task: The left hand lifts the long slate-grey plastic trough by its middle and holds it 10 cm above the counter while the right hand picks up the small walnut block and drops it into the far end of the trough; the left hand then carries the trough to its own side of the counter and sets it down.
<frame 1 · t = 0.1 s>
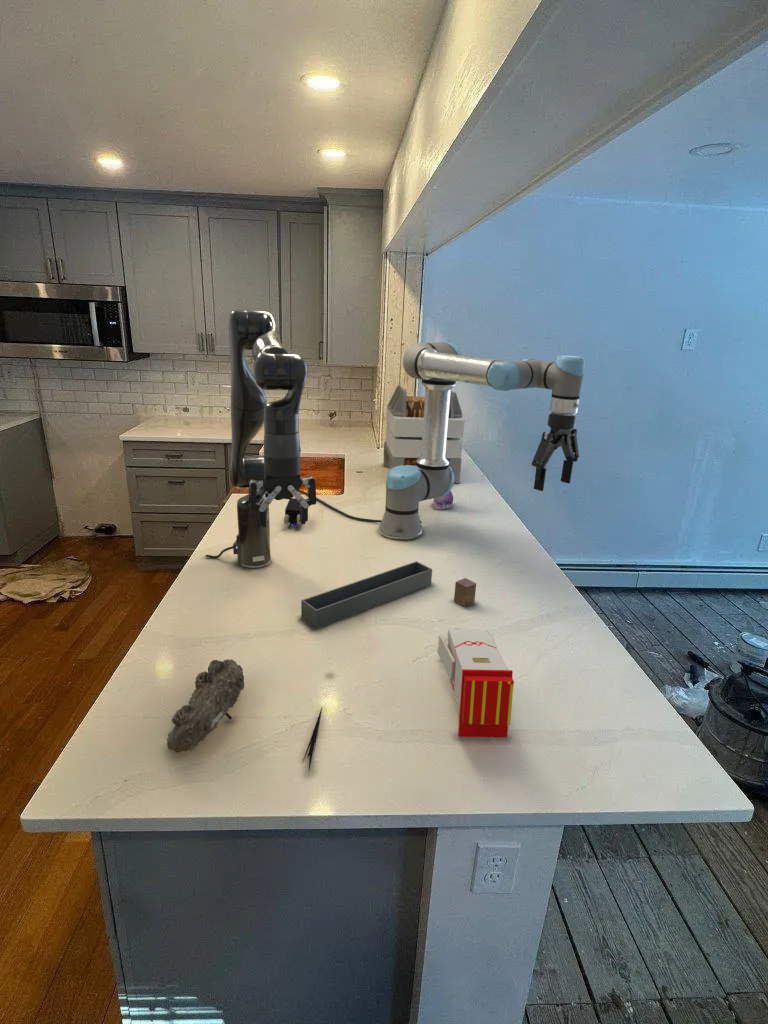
left hand: (283, 524, 124), 29 cm above the counter, fingers open, 8 cm apart
right hand: (552, 486, 165), 28 cm above the counter, fingers open, 13 cm apart
figurine: (442, 506, 230), on the counter
toy: (469, 691, 119), on the counter
figurine character: (295, 523, 205), on the counter
trough: (370, 600, 154), on the counter
walnut block: (464, 602, 155), on the counter
white crate: (419, 473, 275), on the counter
fossil: (212, 717, 108), on the counter
feather: (319, 719, 109), on the counter
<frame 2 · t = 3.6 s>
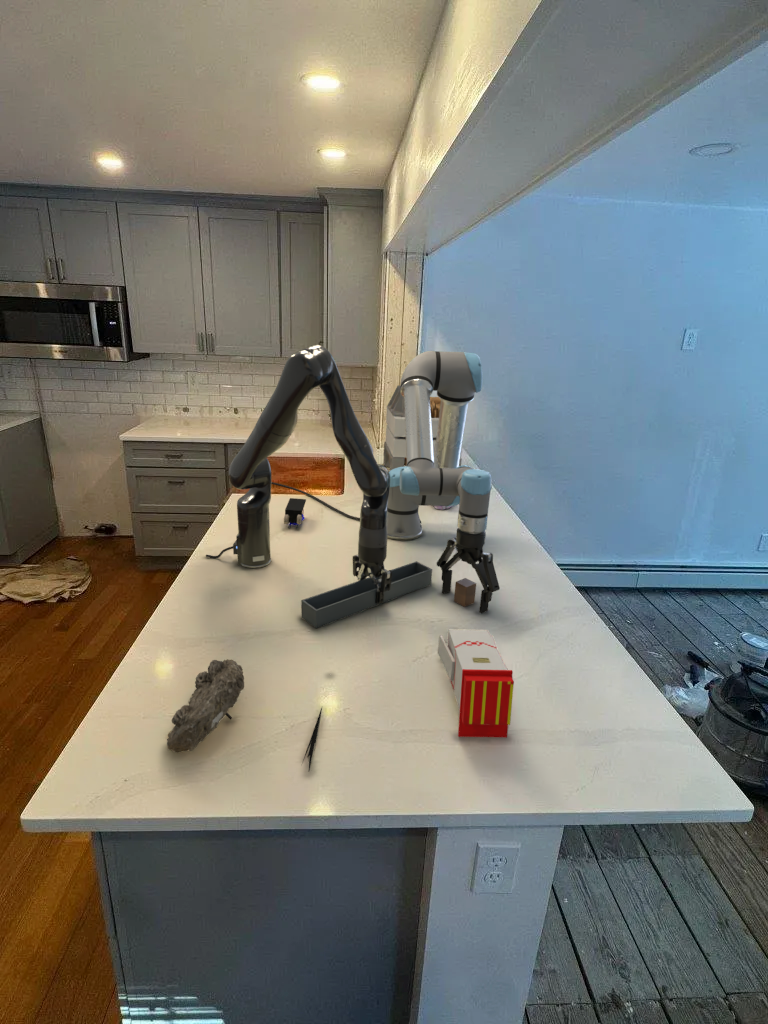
left hand: (370, 597, 154), 1 cm above the counter, fingers closed on trough, 6 cm apart
right hand: (464, 601, 155), 0 cm above the counter, fingers open, 13 cm apart
trough: (370, 600, 154), on the counter, touching left hand
everything else where it was.
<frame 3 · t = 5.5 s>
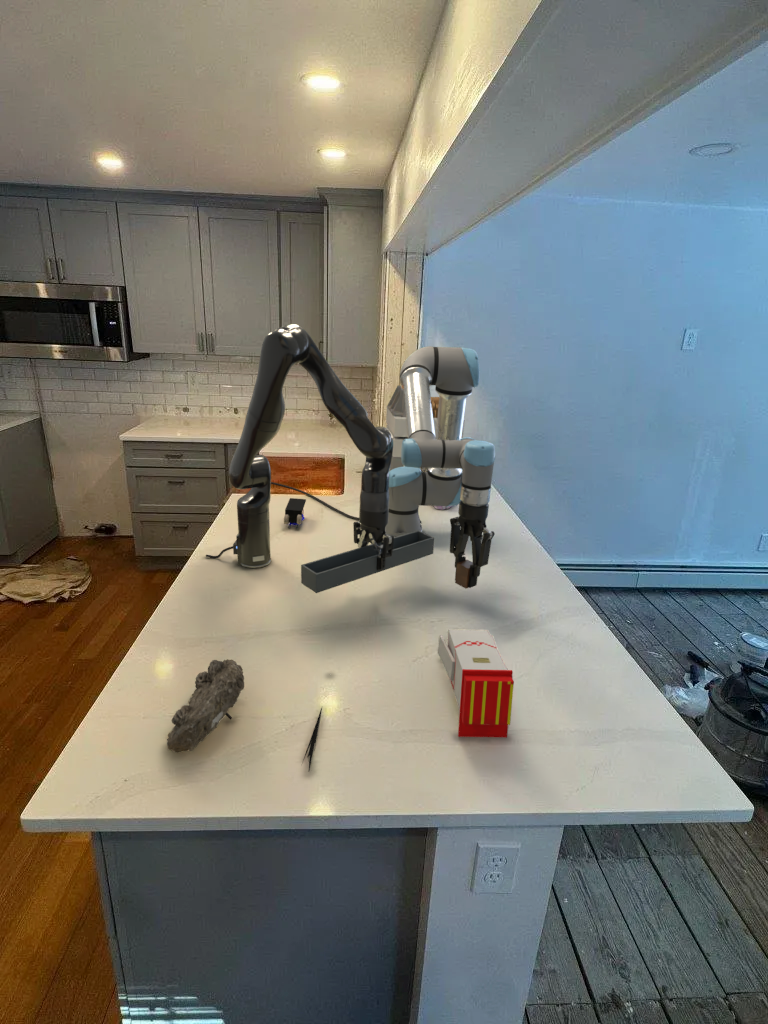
left hand: (371, 564, 150), 11 cm above the counter, fingers closed on trough, 6 cm apart
right hand: (465, 582, 154), 6 cm above the counter, fingers closed on walnut block, 4 cm apart
trough: (371, 567, 151), point 10 cm above the counter, touching left hand
walnut block: (465, 583, 154), point 5 cm above the counter, touching right hand
everything else where it was.
when the right hand's fingers open (16 cm above the counter, at t = 8.3 s): walnut block drops 5 cm, resting on trough.
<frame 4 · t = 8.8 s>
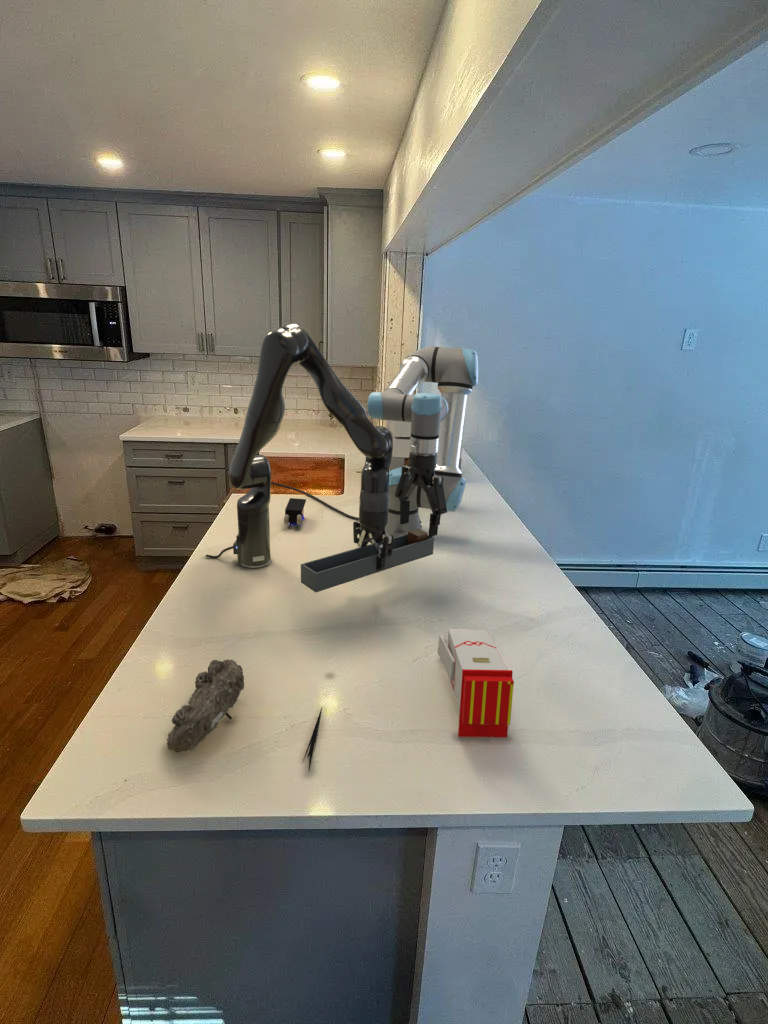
left hand: (371, 564, 150), 11 cm above the counter, fingers closed on trough, 6 cm apart
right hand: (418, 529, 158), 17 cm above the counter, fingers open, 11 cm apart
trough: (371, 567, 151), point 10 cm above the counter, touching left hand, walnut block
walnut block: (416, 551, 161), point 10 cm above the counter, touching trough
everything else where it was.
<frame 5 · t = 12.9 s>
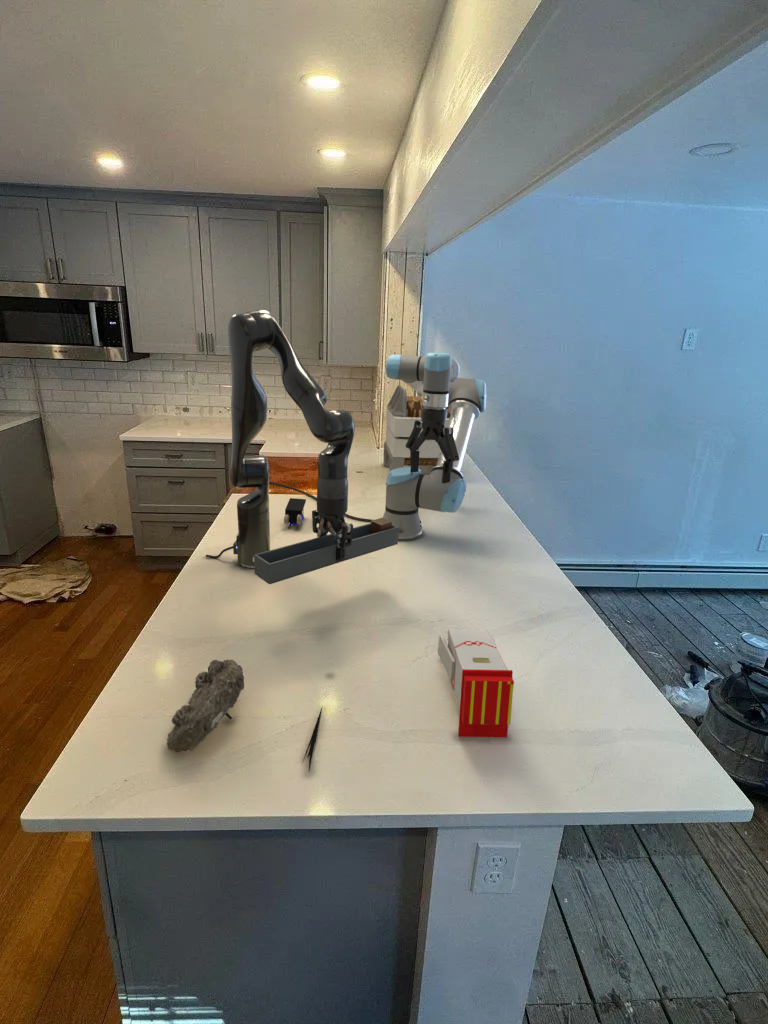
left hand: (331, 555, 143), 15 cm above the counter, fingers closed on trough, 6 cm apart
right hand: (429, 477, 173), 27 cm above the counter, fingers open, 13 cm apart
trough: (331, 558, 143), point 15 cm above the counter, touching left hand, walnut block
walnut block: (380, 541, 154), point 15 cm above the counter, touching trough
everything else where it was.
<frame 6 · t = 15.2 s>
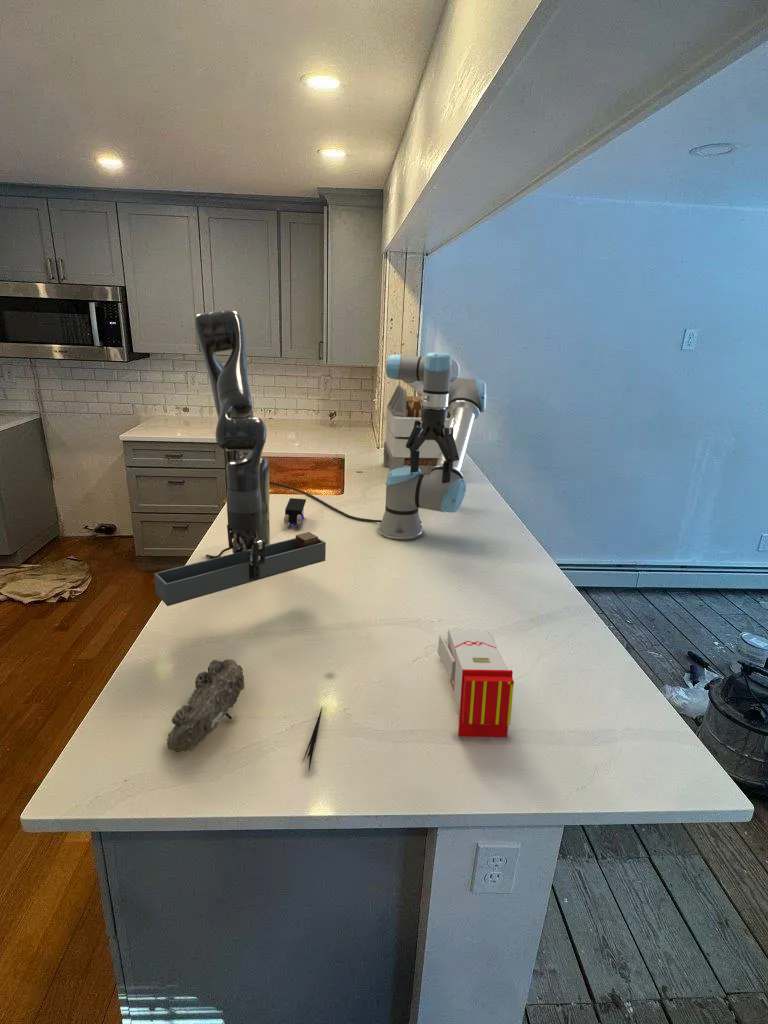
left hand: (247, 573, 132), 15 cm above the counter, fingers closed on trough, 6 cm apart
right hand: (429, 477, 173), 27 cm above the counter, fingers open, 13 cm apart
trough: (247, 576, 133), point 14 cm above the counter, touching left hand, walnut block
walnut block: (306, 557, 143), point 15 cm above the counter, touching trough
everything else where it was.
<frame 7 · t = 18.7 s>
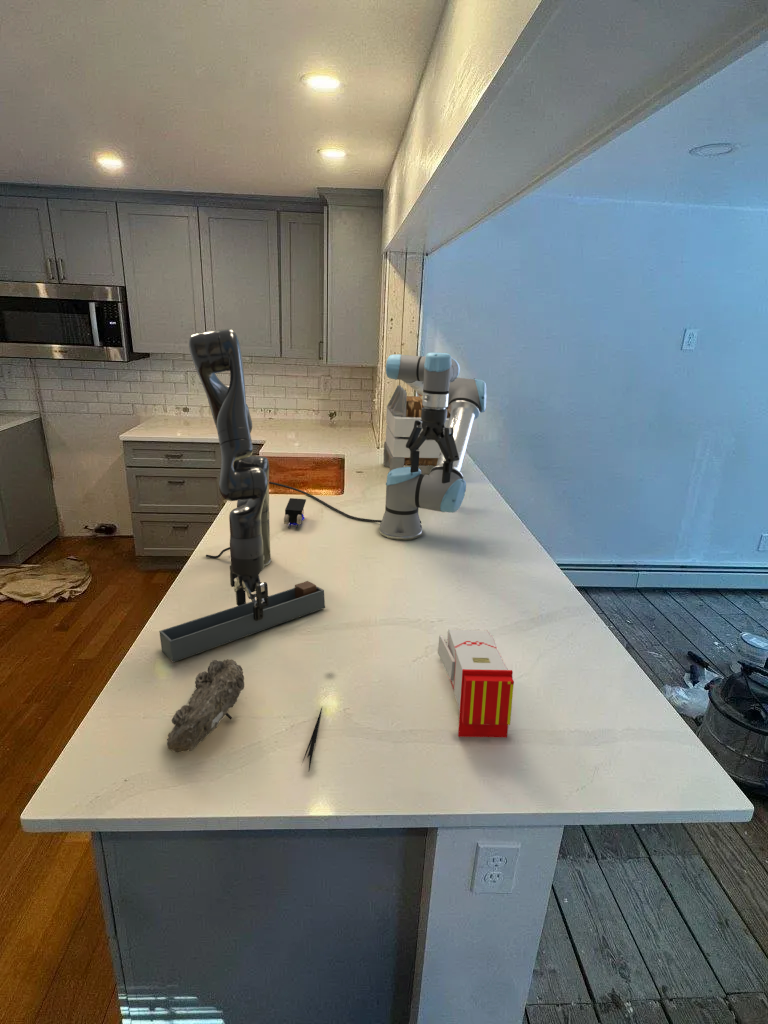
left hand: (249, 612, 137), 4 cm above the counter, fingers open, 8 cm apart
right hand: (429, 477, 173), 27 cm above the counter, fingers open, 13 cm apart
trough: (249, 627, 138), on the counter, tilted 5°, touching left hand, walnut block
walnut block: (306, 606, 148), point 1 cm above the counter, tilted 5°, touching trough
everything else where it was.
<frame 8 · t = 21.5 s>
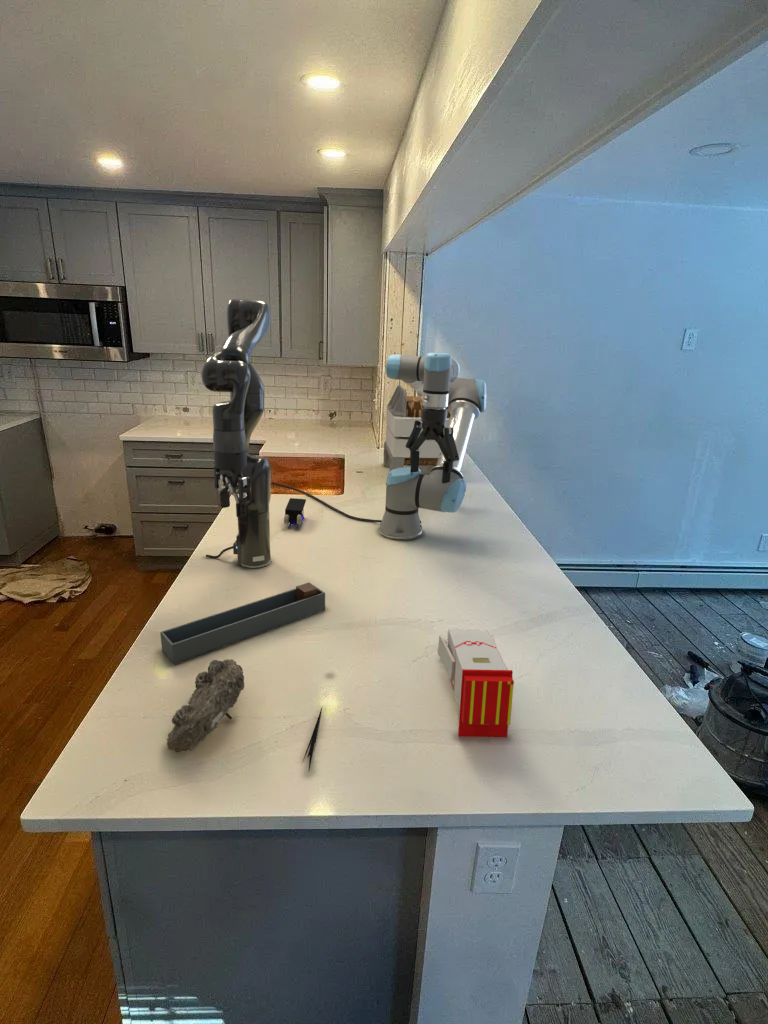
left hand: (233, 512, 139), 26 cm above the counter, fingers open, 8 cm apart
right hand: (429, 477, 173), 27 cm above the counter, fingers open, 13 cm apart
trough: (249, 629, 138), on the counter, touching walnut block
walnut block: (306, 607, 148), resting on trough
everything else where it was.
at the end: walnut block inside the target area on the trough (16.4 cm from its centre), point 0.5 cm above the trough's base; trough inside the target area (0.2 cm from its centre), on the counter; the left hand is holding nothing; the right hand is holding nothing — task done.
